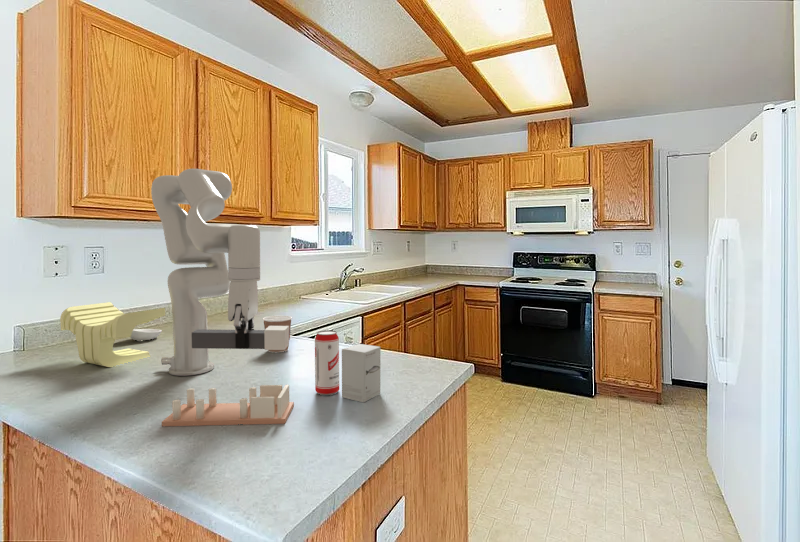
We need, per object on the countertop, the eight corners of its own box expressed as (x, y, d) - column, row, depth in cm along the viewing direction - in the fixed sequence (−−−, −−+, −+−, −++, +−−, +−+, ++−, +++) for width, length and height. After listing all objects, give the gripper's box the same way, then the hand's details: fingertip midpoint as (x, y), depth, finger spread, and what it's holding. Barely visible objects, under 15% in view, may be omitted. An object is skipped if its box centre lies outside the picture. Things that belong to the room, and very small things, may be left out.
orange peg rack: (161, 426, 91) (161, 401, 91) (183, 408, 101) (182, 385, 101) (284, 423, 93) (284, 398, 93) (293, 406, 103) (293, 383, 102)
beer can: (343, 389, 114) (343, 330, 113) (332, 398, 108) (331, 335, 107) (322, 387, 116) (322, 329, 115) (310, 395, 110) (309, 333, 109)
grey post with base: (190, 349, 106) (190, 329, 105) (198, 343, 111) (198, 324, 110) (284, 349, 107) (284, 330, 106) (288, 344, 112) (288, 325, 111)
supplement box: (364, 403, 105) (364, 352, 104) (341, 397, 109) (340, 348, 108) (381, 394, 111) (381, 346, 110) (358, 389, 115) (358, 342, 114)
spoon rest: (151, 335, 182) (150, 319, 181) (168, 338, 176) (167, 321, 176) (88, 347, 161) (87, 328, 161) (105, 351, 155) (104, 332, 155)
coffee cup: (298, 349, 157) (298, 317, 157) (276, 355, 149) (276, 321, 148) (279, 345, 163) (278, 314, 162) (257, 351, 154) (256, 318, 153)
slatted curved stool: (62, 361, 141) (59, 308, 140) (112, 350, 156) (110, 302, 155) (117, 373, 128) (115, 314, 127) (167, 360, 143) (165, 307, 141)
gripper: (239, 271, 115) (240, 338, 117) (216, 277, 99) (217, 355, 100) (268, 271, 116) (268, 338, 117) (249, 278, 99) (250, 355, 101)
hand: (245, 345), depth 109 cm, fingers closed on grey post with base, 3 cm apart
